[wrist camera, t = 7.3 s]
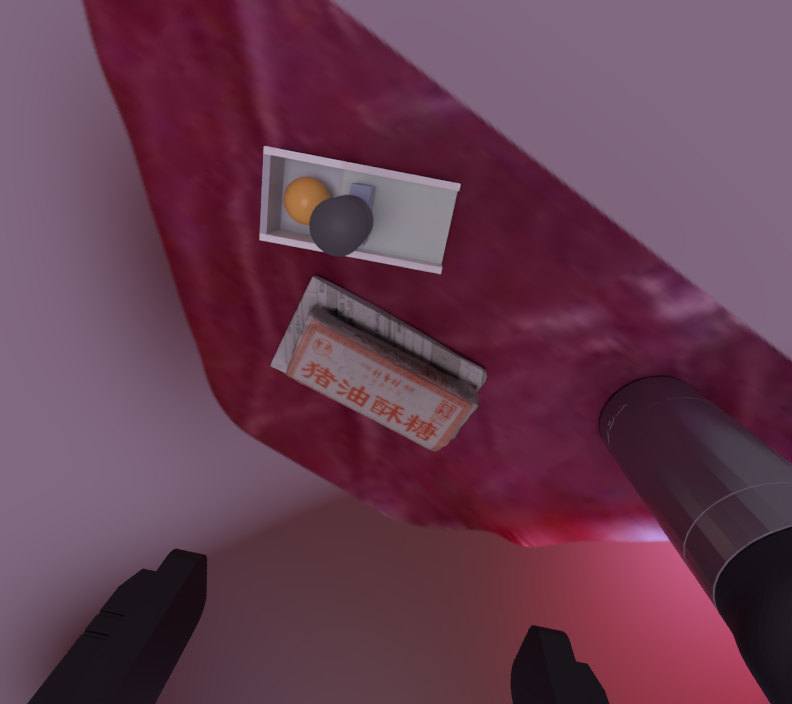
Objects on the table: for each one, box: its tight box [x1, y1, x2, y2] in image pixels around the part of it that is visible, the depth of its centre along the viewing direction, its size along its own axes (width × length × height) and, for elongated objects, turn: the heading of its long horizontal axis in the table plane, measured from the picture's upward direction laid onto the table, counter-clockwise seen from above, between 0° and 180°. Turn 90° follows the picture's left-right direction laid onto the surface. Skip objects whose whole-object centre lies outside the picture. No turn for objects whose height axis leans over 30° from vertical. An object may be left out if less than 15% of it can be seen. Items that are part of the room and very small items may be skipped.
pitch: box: [341, 161, 461, 274], centre depth 32 cm, size 8×6×3 cm
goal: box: [260, 146, 344, 252], centre depth 32 cm, size 6×6×4 cm
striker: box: [309, 183, 376, 256], centre depth 27 cm, size 3×4×10 cm
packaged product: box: [270, 276, 487, 451], centre depth 37 cm, size 18×5×10 cm
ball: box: [284, 177, 330, 225], centre depth 32 cm, size 4×4×4 cm
